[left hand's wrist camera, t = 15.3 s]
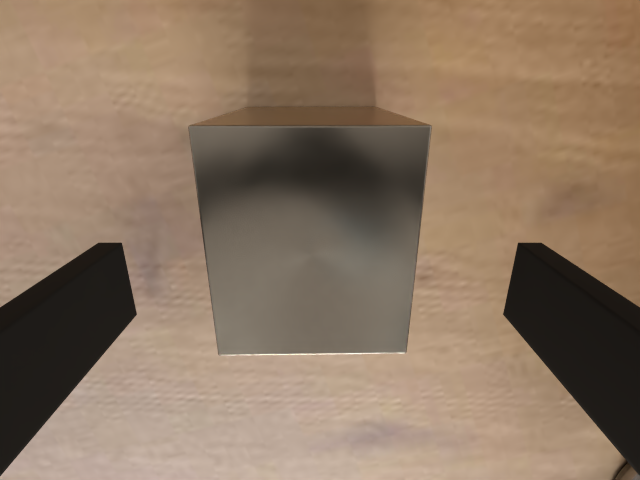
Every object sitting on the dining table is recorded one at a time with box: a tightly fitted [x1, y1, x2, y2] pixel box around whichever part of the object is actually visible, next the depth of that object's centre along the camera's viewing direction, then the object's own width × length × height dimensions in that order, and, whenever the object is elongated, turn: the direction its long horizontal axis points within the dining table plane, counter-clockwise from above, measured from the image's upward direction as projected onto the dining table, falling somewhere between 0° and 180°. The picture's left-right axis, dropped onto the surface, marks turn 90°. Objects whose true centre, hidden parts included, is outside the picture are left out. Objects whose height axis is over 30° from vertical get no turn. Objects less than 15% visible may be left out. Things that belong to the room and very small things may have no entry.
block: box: [188, 107, 432, 355], centre depth 18 cm, size 8×9×11 cm
